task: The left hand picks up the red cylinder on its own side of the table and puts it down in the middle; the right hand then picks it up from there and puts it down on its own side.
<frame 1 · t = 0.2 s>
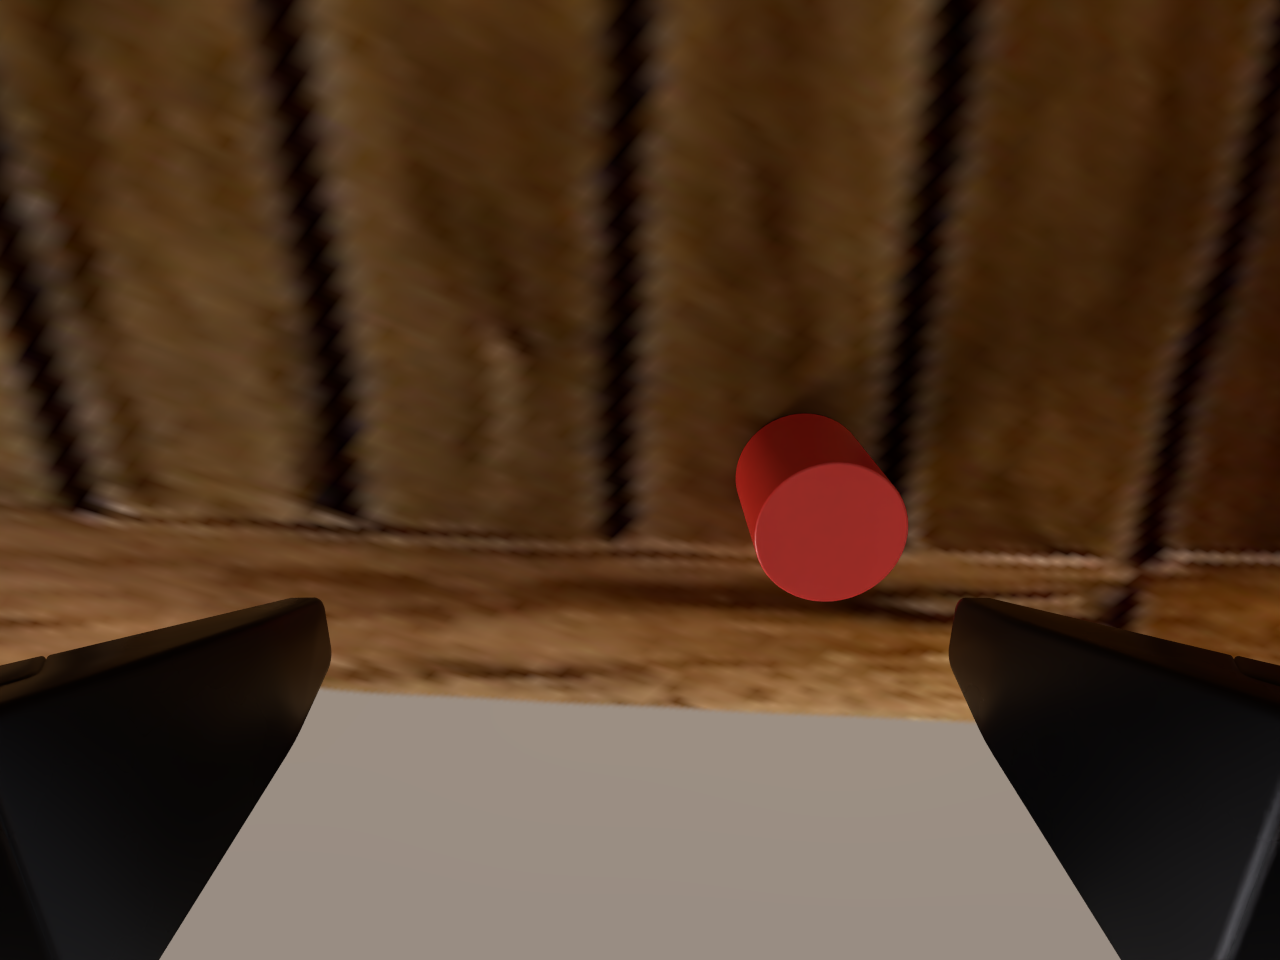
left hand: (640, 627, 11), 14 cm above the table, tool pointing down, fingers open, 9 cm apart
red cylinder: (799, 474, 25), on the table
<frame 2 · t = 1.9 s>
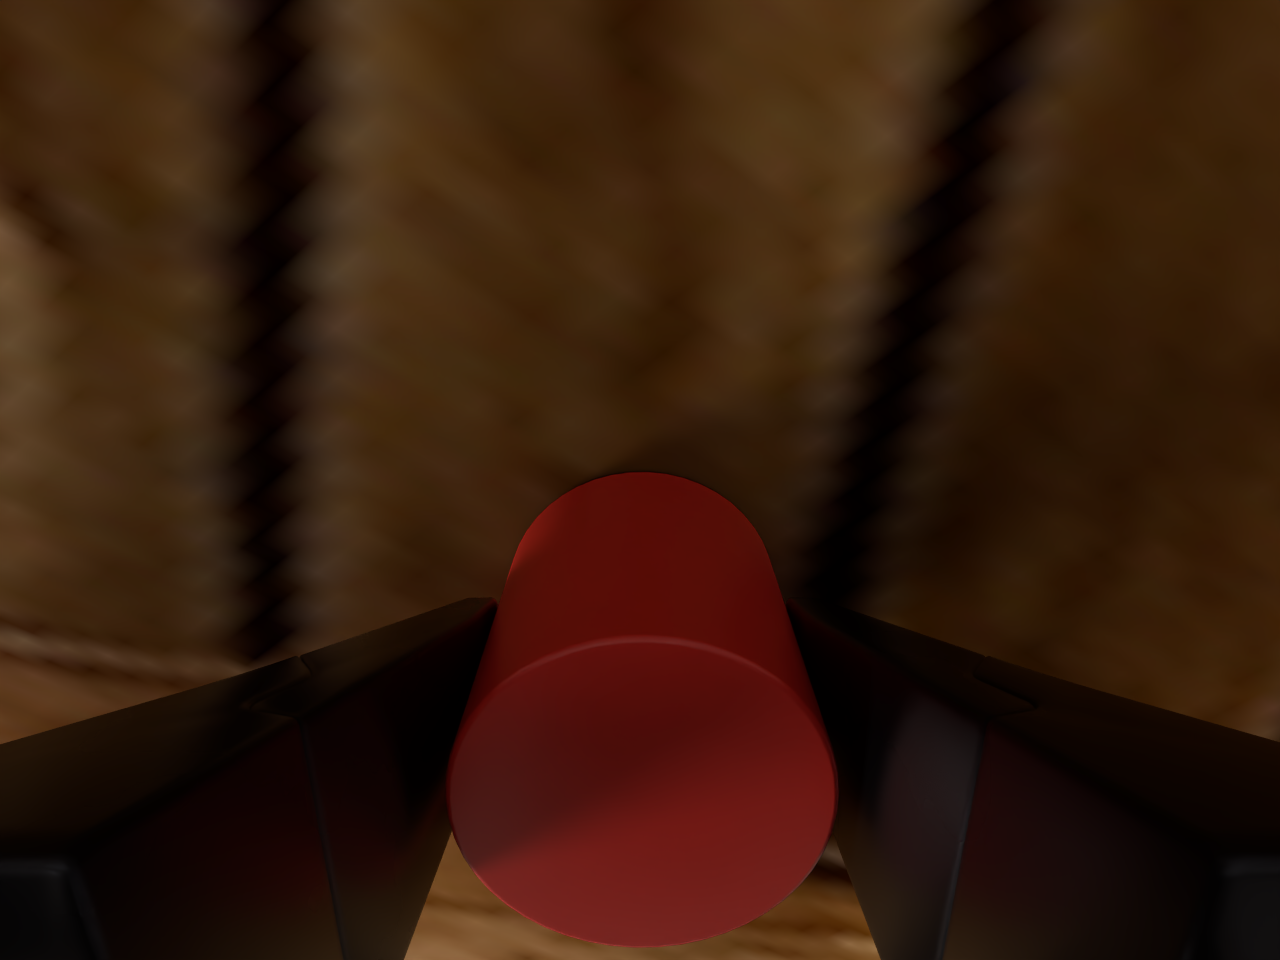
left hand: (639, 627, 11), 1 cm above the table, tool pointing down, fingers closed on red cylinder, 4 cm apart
red cylinder: (641, 593, 12), on the table, touching left hand
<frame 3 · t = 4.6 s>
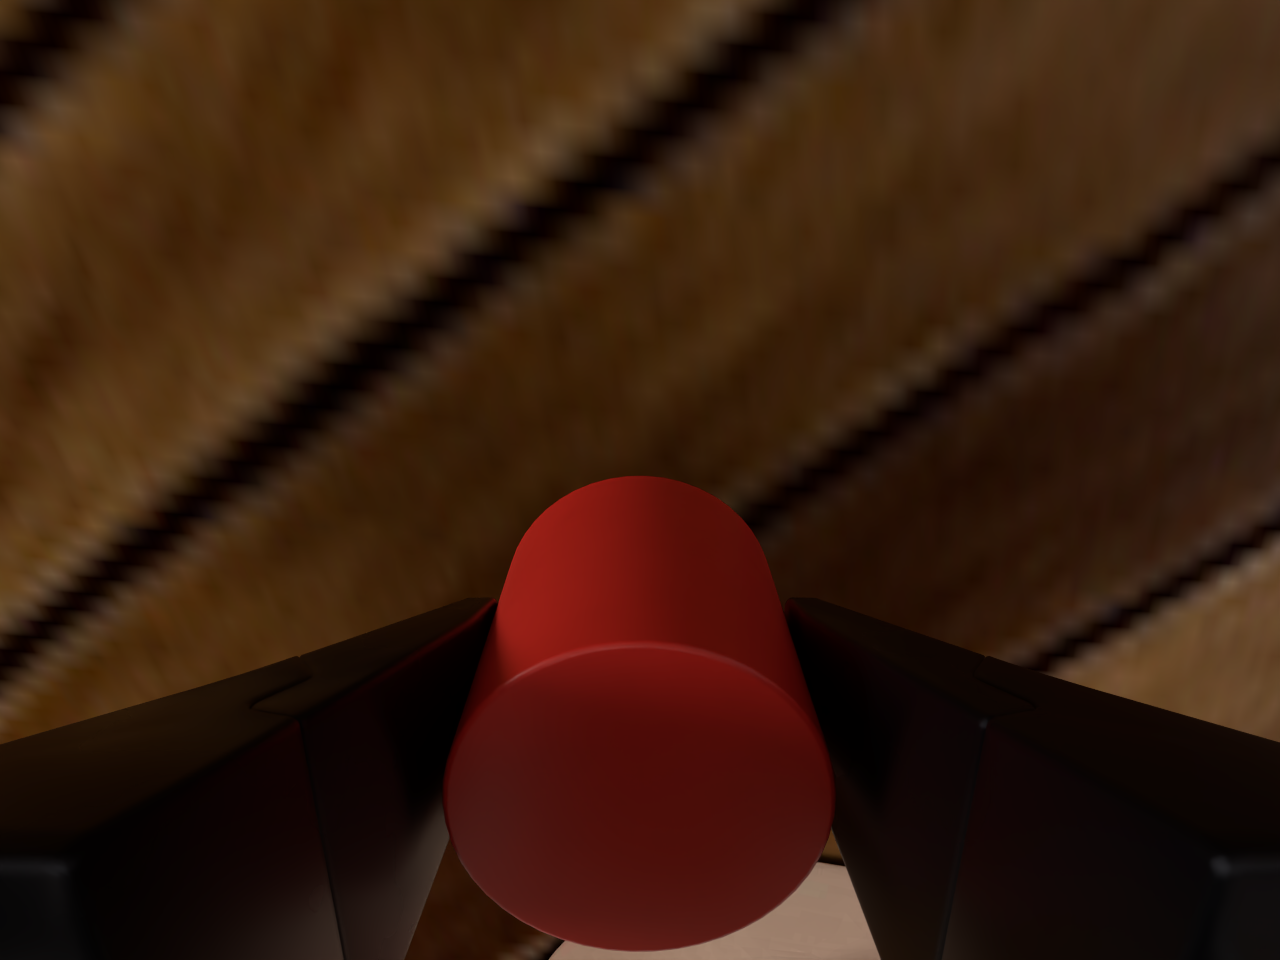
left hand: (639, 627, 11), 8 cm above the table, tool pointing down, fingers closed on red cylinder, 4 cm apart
red cylinder: (639, 596, 12), point 7 cm above the table, touching left hand
when the left hand's fingers open (2 cm above the table, at t = 7.4 s): red cylinder stays where it is, on the table.
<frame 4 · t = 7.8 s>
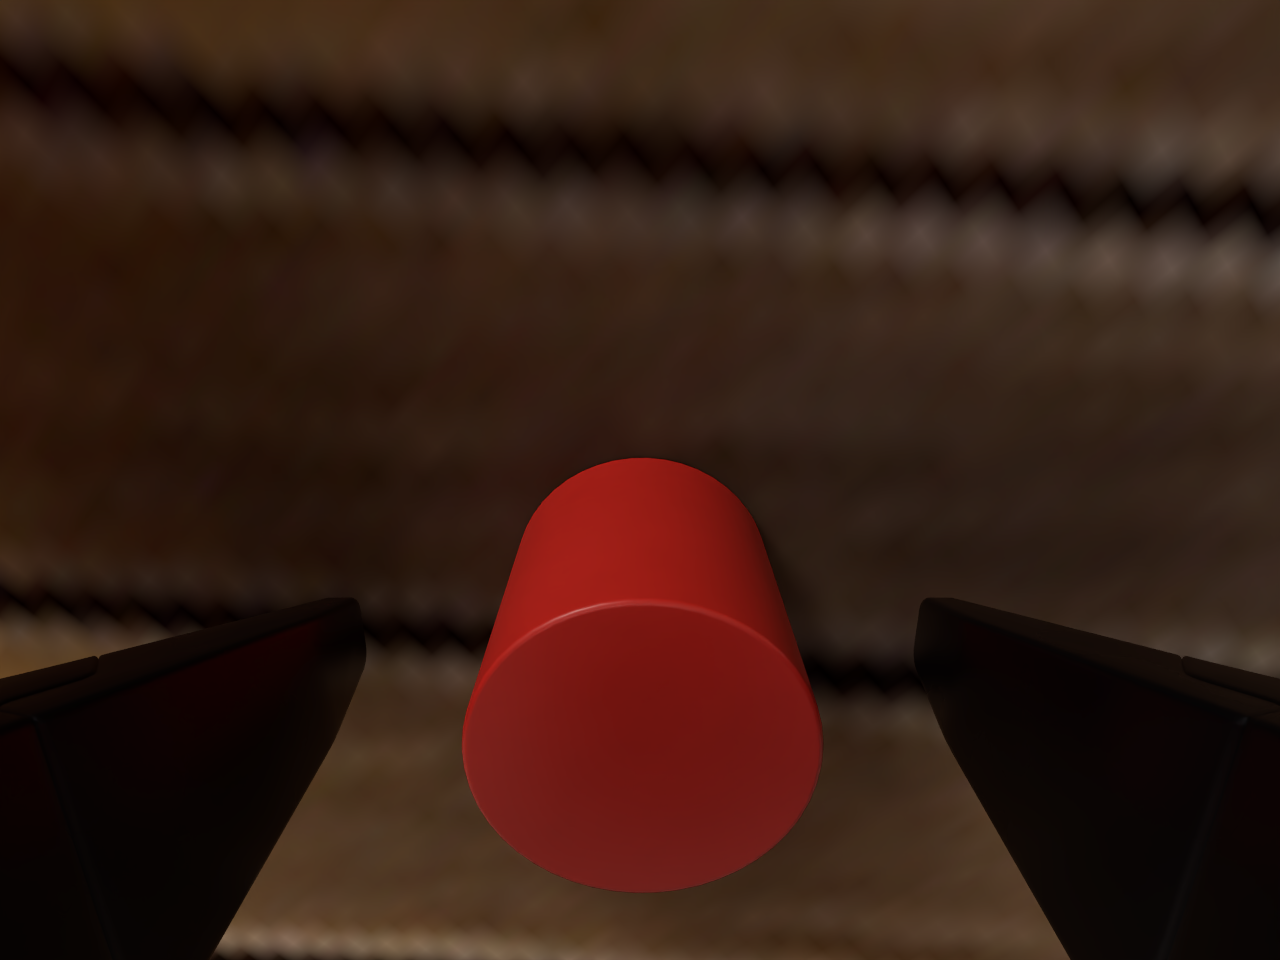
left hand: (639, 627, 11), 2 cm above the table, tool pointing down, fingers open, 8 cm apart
red cylinder: (641, 573, 13), on the table
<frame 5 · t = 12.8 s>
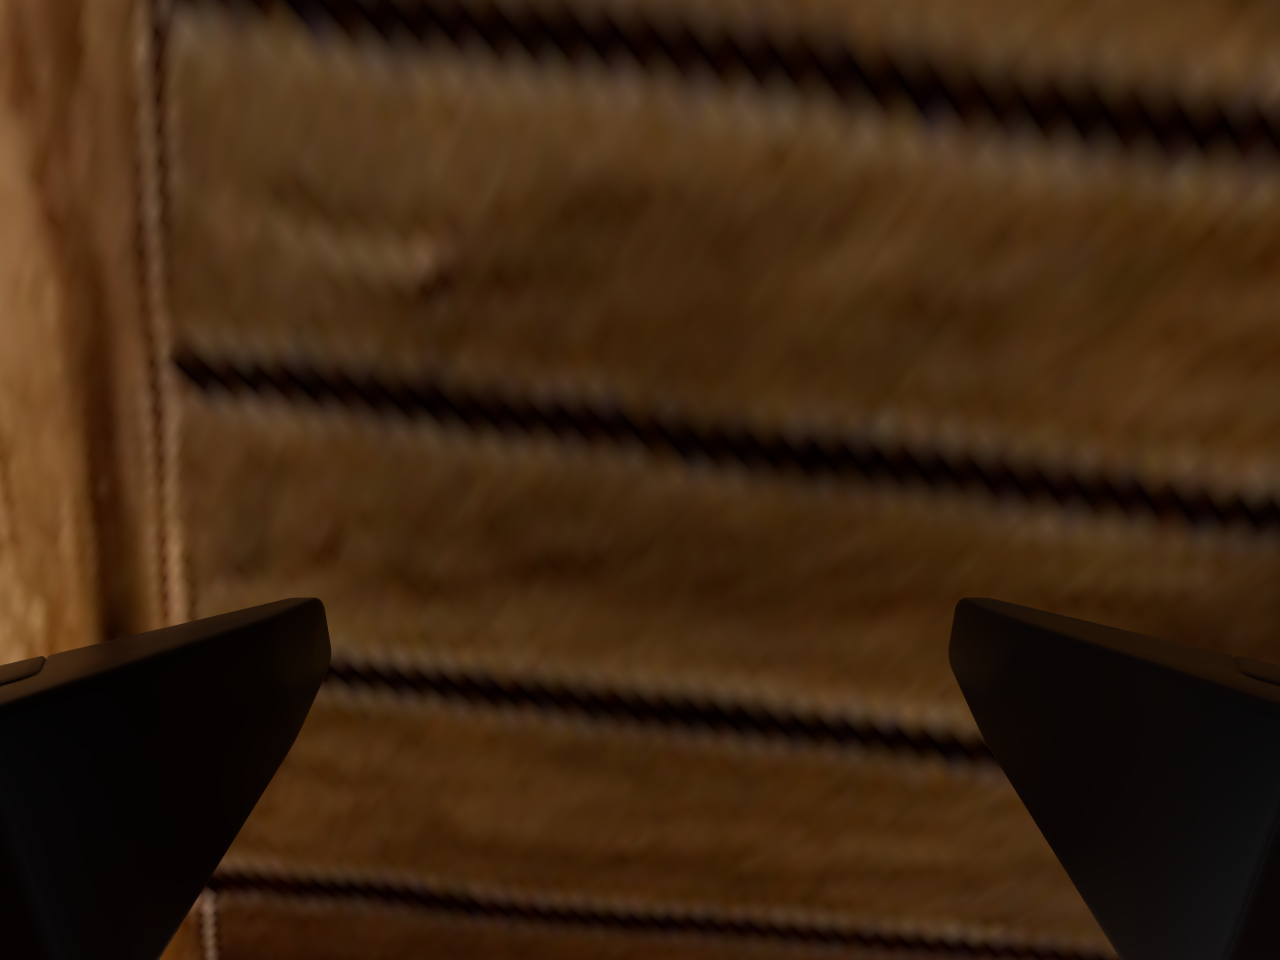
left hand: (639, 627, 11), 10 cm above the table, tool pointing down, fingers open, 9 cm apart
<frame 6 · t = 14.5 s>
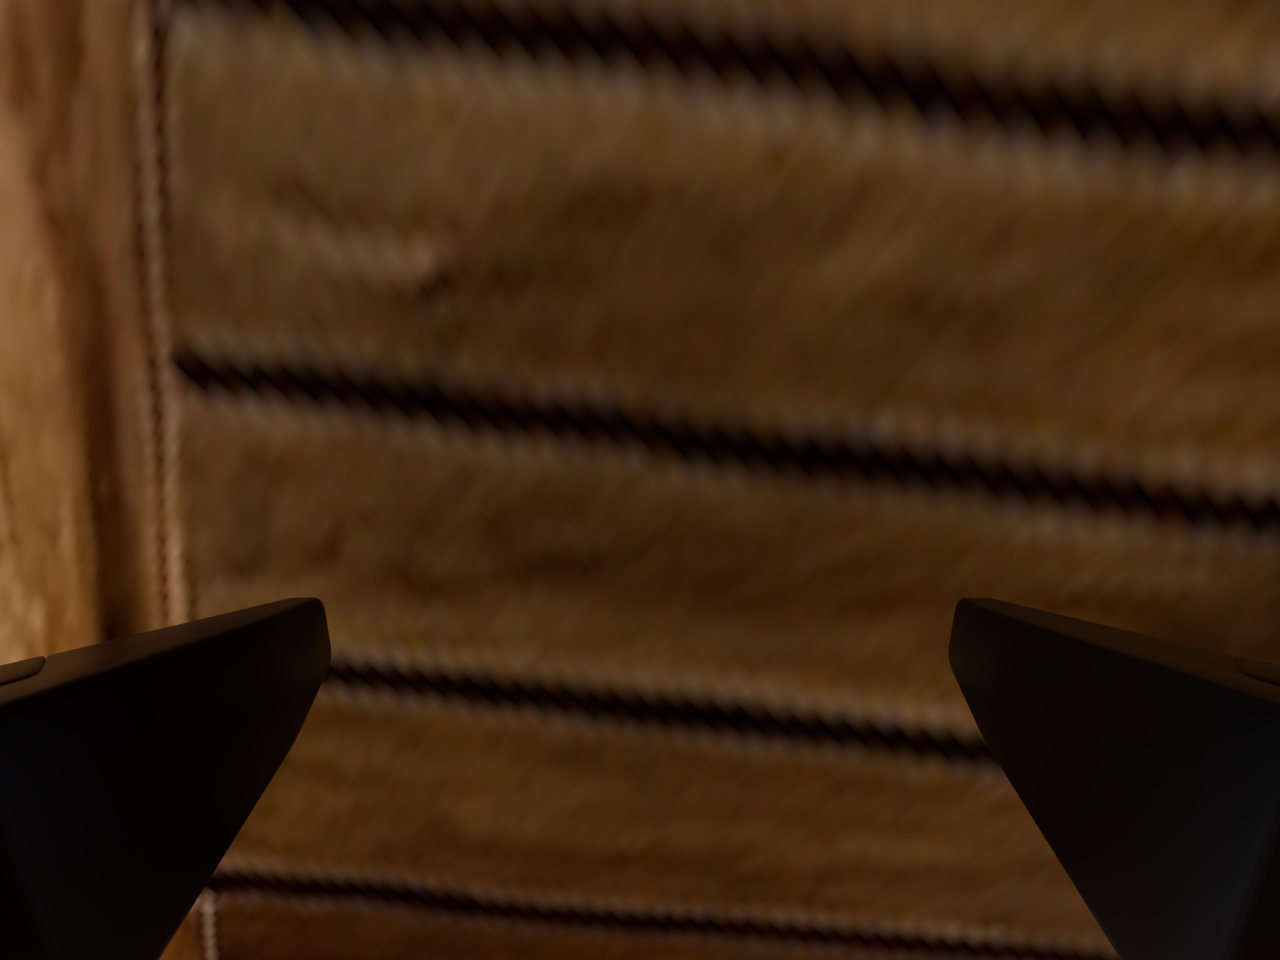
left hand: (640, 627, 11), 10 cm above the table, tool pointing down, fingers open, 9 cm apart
when the right hand's fingers open (2 cm above the table, at t = 16.7 s): red cylinder stays where it is, on the table.
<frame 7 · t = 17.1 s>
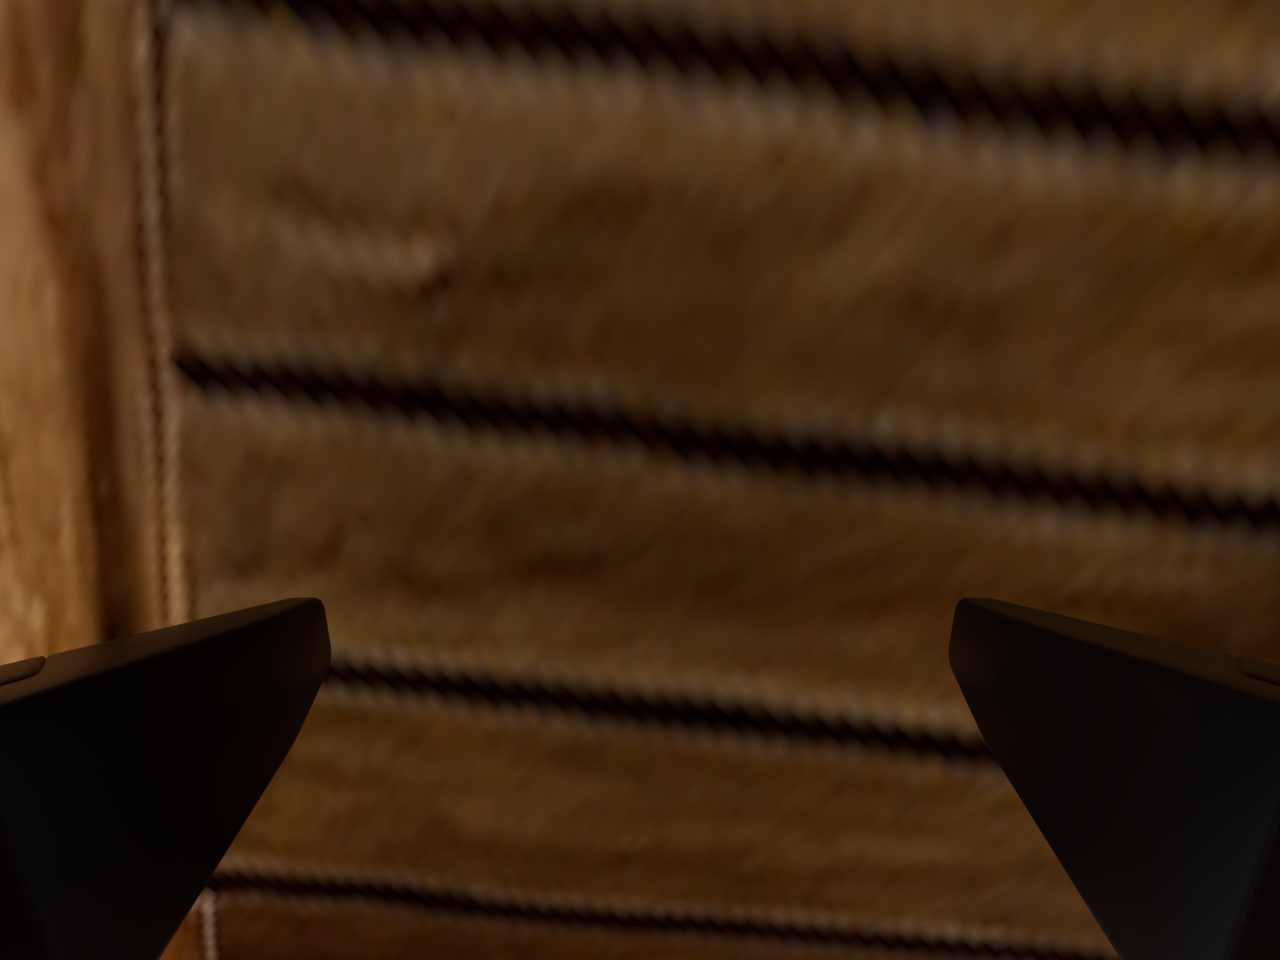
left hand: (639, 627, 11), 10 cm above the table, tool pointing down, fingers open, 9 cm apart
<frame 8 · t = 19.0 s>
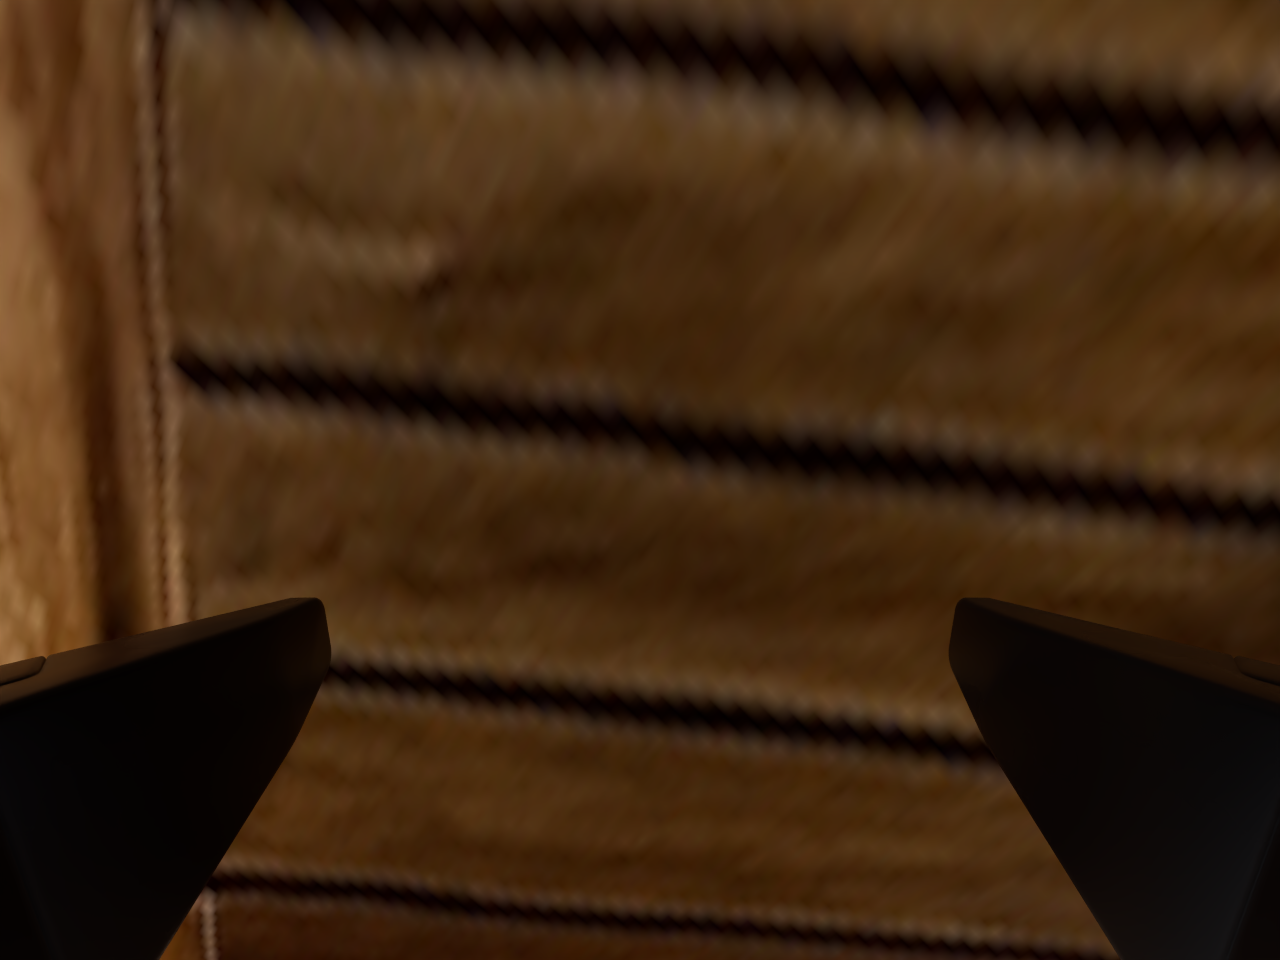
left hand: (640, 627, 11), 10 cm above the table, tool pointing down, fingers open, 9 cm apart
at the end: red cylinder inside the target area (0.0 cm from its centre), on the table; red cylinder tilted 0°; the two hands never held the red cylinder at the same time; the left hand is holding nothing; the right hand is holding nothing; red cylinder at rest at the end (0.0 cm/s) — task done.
